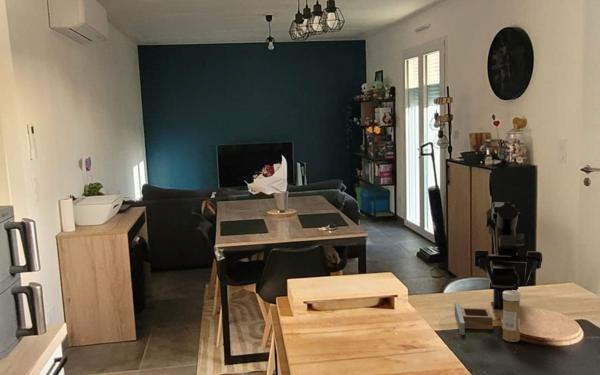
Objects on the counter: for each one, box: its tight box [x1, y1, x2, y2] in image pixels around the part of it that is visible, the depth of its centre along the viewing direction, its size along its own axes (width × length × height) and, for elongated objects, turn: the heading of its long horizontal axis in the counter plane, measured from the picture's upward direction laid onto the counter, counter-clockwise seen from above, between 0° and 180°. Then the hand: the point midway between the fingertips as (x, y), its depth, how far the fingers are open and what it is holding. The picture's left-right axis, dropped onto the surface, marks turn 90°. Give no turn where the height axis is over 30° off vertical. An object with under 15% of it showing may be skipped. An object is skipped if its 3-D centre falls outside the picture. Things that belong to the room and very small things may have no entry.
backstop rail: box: [454, 301, 466, 336], centre depth 166 cm, size 20×1×4 cm, turn 169°
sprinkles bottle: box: [502, 290, 521, 343], centre depth 151 cm, size 5×5×14 cm
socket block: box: [460, 307, 494, 330], centre depth 165 cm, size 8×8×4 cm
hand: (508, 284), depth 159 cm, fingers open, 9 cm apart
